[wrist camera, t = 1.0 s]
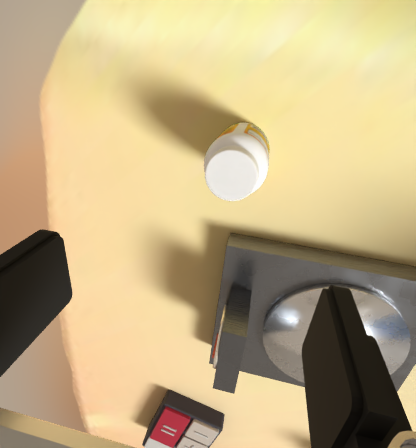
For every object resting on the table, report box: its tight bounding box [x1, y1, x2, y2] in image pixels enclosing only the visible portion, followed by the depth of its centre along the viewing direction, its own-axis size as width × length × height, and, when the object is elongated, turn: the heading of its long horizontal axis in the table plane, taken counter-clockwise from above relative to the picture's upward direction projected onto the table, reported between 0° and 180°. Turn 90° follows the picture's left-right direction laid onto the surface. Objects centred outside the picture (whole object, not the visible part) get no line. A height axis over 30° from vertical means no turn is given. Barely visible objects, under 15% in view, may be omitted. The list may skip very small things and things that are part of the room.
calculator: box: [142, 390, 224, 448], centre depth 53 cm, size 11×4×15 cm
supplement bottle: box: [204, 123, 269, 201], centre depth 25 cm, size 5×5×10 cm
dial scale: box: [209, 233, 416, 393], centre depth 33 cm, size 24×20×10 cm
